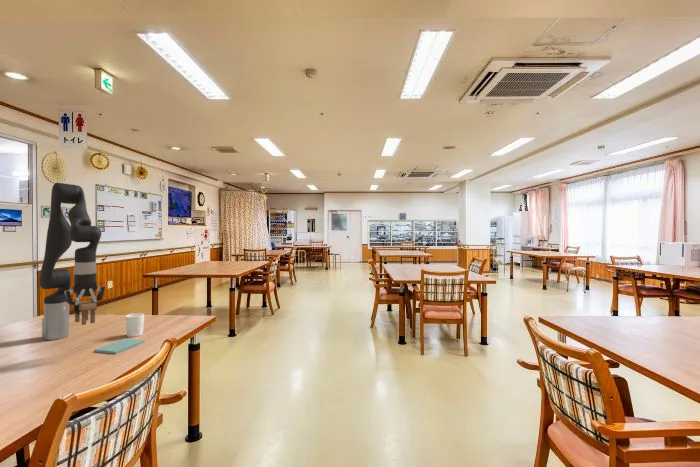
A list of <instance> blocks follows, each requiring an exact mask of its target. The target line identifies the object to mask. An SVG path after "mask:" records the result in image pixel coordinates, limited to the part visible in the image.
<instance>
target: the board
mask: <svg viewBox="0 0 700 467" xmlns="http://www.w3.org/2000/svg"><path fill="white" fill-rule="evenodd" d="M142 344H145V340H144V339H133V338H123V339H120V340H117V341H114V342H111V343H109V344H106V345H103V346H100V347H97V348H94V351H93V352H94V353H102V354H103V353H104V354H112V355H116V354H120V353H122V352H124V351H128V350H129V349H132V348H134V347H136V346H139V345H142Z"/></svg>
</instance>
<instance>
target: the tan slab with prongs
mask: <svg viewBox="0 0 700 467" xmlns="http://www.w3.org/2000/svg"><path fill="white" fill-rule="evenodd" d="M78 305H79V314H75V313H74V322H75V323H79V322H80V320H81V326H85V325H87V321H89V320H90V321H89V324H95V322H96V310H97V309H96V308H98V307H97V306H98V305H97V304H96V303H92V301H88V300H87V301H80V302H79V304H78ZM95 309H96V310H95ZM89 311H90V318H89ZM80 312H81V313H80ZM80 314H81V315H80ZM80 316H81V317H80Z"/></svg>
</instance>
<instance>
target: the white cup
mask: <svg viewBox="0 0 700 467" xmlns="http://www.w3.org/2000/svg"><path fill="white" fill-rule="evenodd" d="M125 325H126V326H125V328H126V336H127V337H128V338H134V337H140V336H142V335H143V334H144V326H145V313H143V312H137V313H129V314H127V315H125Z"/></svg>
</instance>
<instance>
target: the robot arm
mask: <svg viewBox="0 0 700 467" xmlns="http://www.w3.org/2000/svg"><path fill="white" fill-rule="evenodd" d="M50 193H51V195H50V214H49V219H48V220H49V221H48V228H47V231H46V232H47V233H46V240H45V248H44V249H45V250H44V257H43V261H42V265H41V269H40V273H39V279H38V280H39V286H40V287H39V288H41V289H42V290H52V289H57V290H56V291H55V292H52V293H51V294H49V295H47V296H45V297H44V298H43V318H42V320H41V321H42V323H41V326H42V328H41V329H42V330H41V331H42V332H41V336H42V337H41V339H43V340H45V341H53V340H60V339H64V338H67V337H69V335H70V305H72V306H73V307H72V310H73V314H74V315H75V314H79V305H78V304H79V302H81V300H82V298H85V297H89V299H90V302H92V303H96V304H97V303H98V302H99V301H102V300H103V297H104V293H105V289H106V286H102V285H101V286H98V284H97V277H98V276H97V272H98V270H97V269H98V268H97V249H98V246H99V243H100V240H101V238H102V230H101V228H100V227H99V226H97V225H92V220H91V218H90V216H89V214H88V210H87V204H86V198H85V192H84V189H83V188H82V186H80V185H78V184H77V185H76V184H69V183H64V182H63V183H61V182H55V183H54V184H53V185H52V187H51V192H50ZM62 204H68V205H73V206H72V207H71V208H70V209H69V211H68V213H67V217H68V218H67V219H66V217H65V215H64V213H63V211H62V206H61V205H62ZM72 242H74V243H89V244H88V245H86V246H85V247H80V248H79V247H78V248H76V249H75V250H74V265H73V266H74V267H73V286H72V285H71V284H72V273H71V271H70V270H69V269H68V268H55V266H56V264H57V262H58V261H59V259H60V258H61V257H62V256H64V254H65V253H66V252H67V251H68V250H69V248H70V247H71V246H72ZM71 286H72V288H71ZM96 291H97V295H95V292H96ZM73 293H74V294H75V296H74V300H73V298H72V296H73V295H72V294H73ZM97 308H98V307H97ZM97 308H96V309H95V311H96V310H97Z"/></svg>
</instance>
